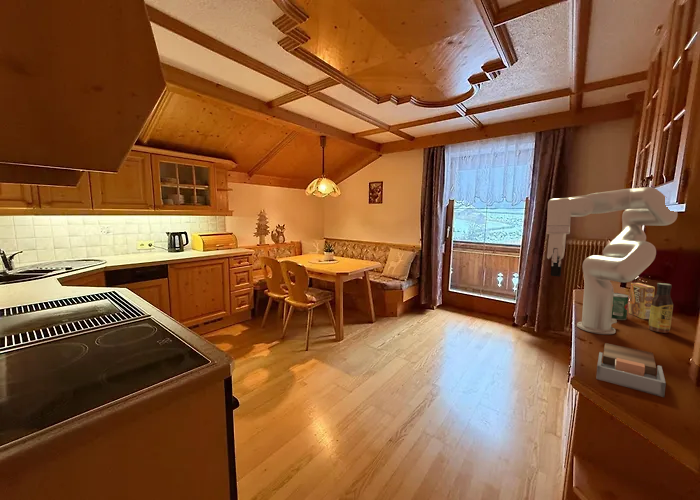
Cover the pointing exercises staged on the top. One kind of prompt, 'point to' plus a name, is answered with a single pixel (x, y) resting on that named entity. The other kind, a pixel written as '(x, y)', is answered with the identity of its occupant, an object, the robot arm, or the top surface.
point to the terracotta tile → (630, 367)
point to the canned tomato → (619, 306)
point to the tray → (632, 378)
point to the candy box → (641, 300)
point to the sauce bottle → (661, 309)
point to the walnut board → (629, 357)
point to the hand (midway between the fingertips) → (555, 275)
